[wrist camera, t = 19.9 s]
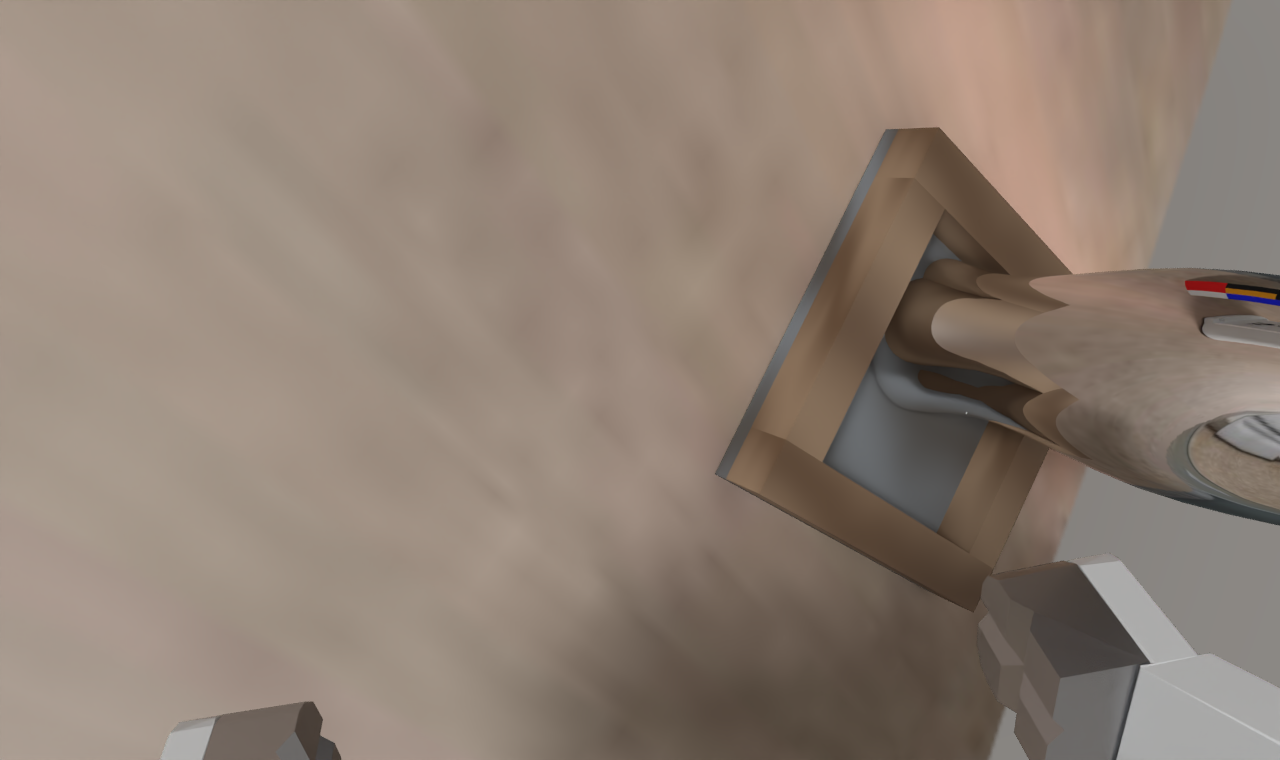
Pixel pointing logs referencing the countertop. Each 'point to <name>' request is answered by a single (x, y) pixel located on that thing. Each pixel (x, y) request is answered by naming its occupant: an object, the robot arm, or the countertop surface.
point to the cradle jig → (854, 402)
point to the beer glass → (1106, 371)
